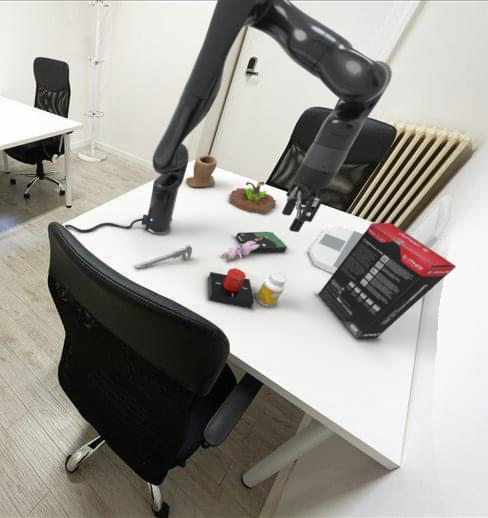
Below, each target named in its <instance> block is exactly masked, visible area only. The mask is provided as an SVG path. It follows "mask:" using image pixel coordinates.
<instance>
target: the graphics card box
mask: <svg viewBox="0 0 488 518" xmlns="http://www.w3.org/2000/svg"><path fill="white" fill-rule="evenodd" d="M362 234H363V236H362V237H361V238H360V239H359V241H358V242H357V244H356V245H355V246H354V248H353V249H352V250H351V251H350V253H349V254H348V255H347V257H346V258H345V259H344V261H343V262H342V263H341V265H340V266H339V267H338V269H337V270H336V271H335V273H334V274H333V273H332V274H331V276H330V278H329V279H328V280H327V281H326V283H325V285H324V286H323V287H322V288H321V290H320V291H319V292H318V294H317V295H318V296H319V298H320V299H322V300H323V302H324V303H325V304H326V305H327V306H328V307H329V309H330V310H331V311H332V312H333V313H334V315H335V316H336V317H337V318H338V319H339V320H340V322H341V323H342V324H343V325H344V326H345V327H346V329H347V330H348V331H349V332H350V333H351V334H352V336H353V337H354V338H356V339H358V340H359V339H377V338H379V337H380V336H381V335H382V334H384V332H386V331H387V329H389V328H390V327H391V326H392V325H393V324H394V323H395V322H397V321H398V320H399V319H400V318H401V317H402V316H403V315H404V314H405V313H406V312H407V311H409V309H411V308H412V307H413V306H414V305H415V304H417V302H418V301H420V300H421V299H422V298H423V297H424V296H425V295H426V294H427V293H429V291H431V290H432V289H433V288H434V287H435V286H436V285H437V284H438V283H440V282H441V281H442V280H443V279H444V278H445V277H446V276H448V275H449V274H450V273H451V272H452V271H453V270H455V268H456V267H457V266H456V265H455V264H454V263H452V262H450V261H449V260H447V259H446V258H444V257H443V256H441V255H440V254H438V253H437V252H436V251H434V250H432V249H431V248H430V249H429V248H428V247H426V246H425V245H423V244H422V243H420V242H419V241H417V240H416V239H414V238H413V237H411V236H410V235H409V233H407V232H405V230H402V229H401V228H399V227H397V225H395V224H393V223H388V222H372V223H370V224H369V226H368V227H367V229H366V230H365V231H364V233H362Z"/></svg>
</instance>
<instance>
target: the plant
mask: <svg viewBox="0 0 488 518" xmlns="http://www.w3.org/2000/svg"><path fill="white" fill-rule="evenodd" d="M249 185H251V186H252V187H250V186H249ZM245 186H249V187H248V188H246V187H242V188H241V187H238V188H236V189H235V190H232V191H231V193H230V197H229V203H230V204H232V205H234V206H235V207H236V208H238V209H241V210H243V211H245V212H246V211H247V212H250V213H257V214H259V215H266V214H267V213H268V212H270V211H271V210H272V209H274V208H275V207H276V205H277V204H276V202H277V200H276V199H274V196H272V195H270V194H268V191H267V190H262V191H261V187H262V186H265V182H264V181H258V182H257V184H256V186H255V185H254V183H253V182H249V181H247V182H245Z"/></svg>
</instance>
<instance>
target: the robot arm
mask: <svg viewBox="0 0 488 518" xmlns="http://www.w3.org/2000/svg"><path fill="white" fill-rule="evenodd" d="M246 27H250V28H253V29H255V30H258V31H260V32H261V33H264V34H265V35H267V36H269V37H270V38H271V39H273V40H274V41H275V42H276V43H277V45H279V47H280V48H281V50H282V51H284V53H285V54H286V56H288V57H289V59H290V60H292V61H293V62H294V63H295V64H296V65H298V66H299V67H300V68H301V69H303V70H305V72H306V71H307V72H308V73H309V74H310V75H312V76H313V77H315V78H316V79H318V80H320V81H321V83H323V85H324V86H325V87H326V88H327V89H328V90H329V91H330V92H331V93H332V94H334V95H335V96H336V97H337V98H338V99H337V102H336V104H335V105H334V108H333V110H332V112H331V113H330V114H329V115H328V116H327V117H326V118H325V119H324V121H323V122H322V125H321V126H320V129H319V130H318V132H317V134H316V136H315V139H314V140H313V142H312V144H311V145H310V147H309V148H308V149H307V152H306V154H305V156H304V158H303V160H302V162H301V164H300V165H299V168H298V170H297V172H296V173H295V175H294V178H293V180H292V183H291V185H290V186H289V188H288V190H287V192H286V195H285V196H286V197H287V198H286V203H285V205H284V207H283V209H282V211H281V214H282V215H284V216H291V215H292V213H293V211H294V210H296V215H295V217H294V219H293V220H292V223H291V224H290V226H289V231H290V232H293V233H299V232H300V231H301V229H302V227H303V226H304V224H305V222H308V223H312V221H313V220H314V217H316V214H317V212H318V210H319V209H320V207H321V206H322V203H323V201H324V200H323V198H319V197H318V196H319V192H320V191H321V190H323V189H327V188H329V187H330V185H332V182H333V181H334V179H335V177H336V176H337V174H338V172H339V171H340V169H341V167H342V165H343V164H344V162H345V160H346V158H347V157H348V153H349V152H350V150H351V147H352V146H353V144H354V142H355V140H356V139H357V137H358V136H359V134H360V132H361V130H362V128H363V126H364V123H365V122H366V120H367V119H368V118H369V115H370V114H371V113H372V112H373V110H374V109H375V107H376V106H377V104H378V103H379V102H380V100H381V98H382V96H383V95H384V93H385V92H386V90H387V88H388V87H389V85H390V83H391V82H392V77H393V71H392V67H391V66H390V64H388V63H387V62H386V61H382V60H374V59H372V58H370V57H368V56H366V55H365V54H363V53H362V52H360V51H359V50H358V49H356V48H354V47H353V45H352V43H351V42H350V41H349V40H348V39H347V38H345V37H344V36H342V35H341V34H339V32H336V31H335V30H333V29H331V28H330V27H328V26H327V25H325V24H324V23H322V22H320V21H319V20H317V19H315V17H312V16H311V15H309V14H307V13H306V12H304V11H303V10H301V9H300V8H298V7H297V6H296V5H295V4H293V2H291V1H290V0H217V1H216V3H215V7H214V10H213V12H212V16H211V19H210V21H209V25H208V28H207V31H206V34H205V38H204V40H203V42H202V45H201V48H200V50H199V52H198V55H197V57H196V59H195V62H194V64H193V67H192V69H191V72H190V74H189V77H188V78H187V81H186V82H185V85H184V87H183V90H182V91H181V94H180V97H179V100H178V102H177V105H176V107H175V109H174V112H173V114H172V116H171V118H170V121H169V122H168V125H167V128H166V129H165V131H164V133H163V135H162V136H161V138H160V140H159V142H158V143H157V146H156V148H155V150H154V152H153V156H152V168H153V170H154V171H155V172H156V173H157V174H159V176H158V177H155V179H154V181H153V184H152V191H151V196H150V201H149V207H148V213H147V214H145V213H144V214H143V215H142V217H141V218H138V219H137V218H136V219H135V220H133V221H131V222H130V225H126V226H123V225H120V224H116V223H113V222H103V223H99V224H97V225H95V226H93V227H90V228H86V229H82V228H78V227H76V226H74V225H72V224H65V225H64V226H65V227H66V228H71V229H73V230H75V231H77V232H81V233H88V232H91V231H94V230H96V229H97V228H100V227H103V226H111V227H116V228H119V229H125V230H126V229H131V228H132V227H133V225H135V224H136V223H139V222H141V225H144V226H145V231H148V232H149V233H151V234H154V235H158V236H159V235H166V234H168V233H169V232H170V228H171V223H172V221H173V215H174V210H175V206H176V202H177V197H178V193H179V188H180V187H181V186H182V184H183V181H184V178H185V174H186V172H187V168H188V163H189V150H188V148H187V146H186V145H185V144H184V140H186V138H187V137H188V136H189V135H190V134H191V133H192V132H193V131H194V130H195V129H196V128H197V127H198V126H199V125H200V124H201V122H202V121H203V120H204V119H205V118H206V117H207V115H208V114H209V112H210V110H211V108H212V106H213V105H214V103H215V101H216V99H217V97H218V95H219V92H220V90H221V88H222V83H223V78H224V73H225V72H224V71H225V67H226V66H225V65H226V62H227V60H228V59H227V58H228V57H229V54H230V52H231V50H232V48H233V46H234V44H235V42H236V39H237V38H238V36H239V35H240V33H241V31H242V29H243V28H246Z"/></svg>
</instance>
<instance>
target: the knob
mask: <svg viewBox="0 0 488 518" xmlns="http://www.w3.org/2000/svg"><path fill="white" fill-rule="evenodd" d="M225 275H226V277H225V280H224V282H223V286H224V287H225V288H226V289H227V290H229V291H232V292H237V291H239V290H240V288H241V286H242V284H243V282H244V280H245V278H246V277H247V276H246V273H245V272H244V271H242V270H241V269H240V268H238V267H234V268H230V269H228V270H227V273H226V274H225ZM246 279H247V278H246Z"/></svg>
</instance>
